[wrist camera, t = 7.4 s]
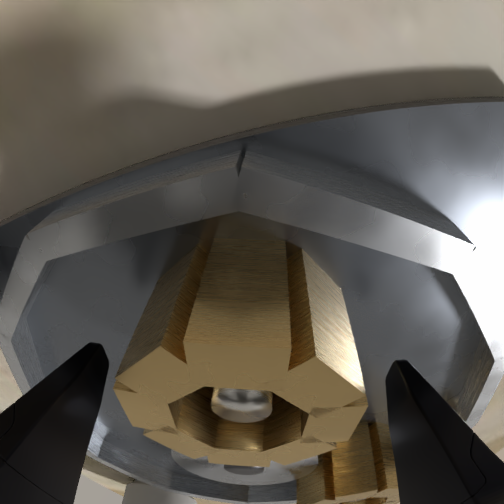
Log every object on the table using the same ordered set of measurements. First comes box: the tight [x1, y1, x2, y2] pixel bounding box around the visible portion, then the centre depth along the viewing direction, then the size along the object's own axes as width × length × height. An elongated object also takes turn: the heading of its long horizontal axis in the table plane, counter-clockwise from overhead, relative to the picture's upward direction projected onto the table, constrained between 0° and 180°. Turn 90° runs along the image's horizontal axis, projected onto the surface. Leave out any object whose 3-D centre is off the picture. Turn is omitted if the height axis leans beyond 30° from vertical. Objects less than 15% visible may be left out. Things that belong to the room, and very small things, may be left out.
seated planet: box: [296, 422, 400, 504], centre depth 14 cm, size 6×6×4 cm
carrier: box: [0, 97, 504, 504], centre depth 13 cm, size 25×25×4 cm
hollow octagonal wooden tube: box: [113, 238, 368, 467], centre depth 9 cm, size 6×6×4 cm
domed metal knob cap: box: [171, 449, 318, 485], centre depth 13 cm, size 7×7×3 cm
